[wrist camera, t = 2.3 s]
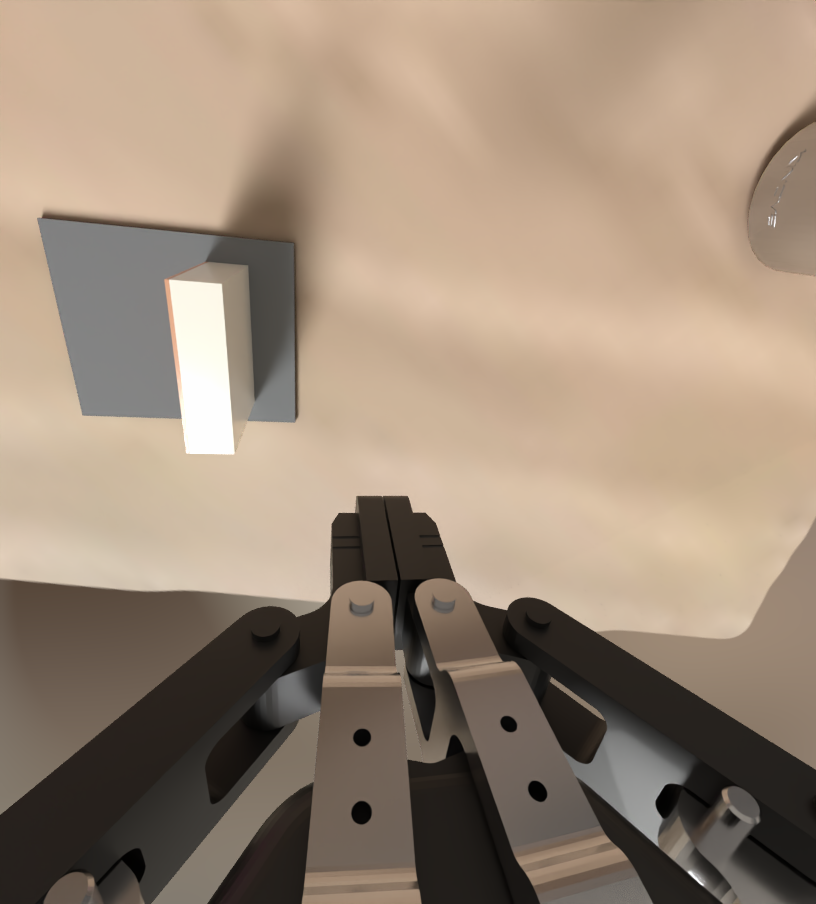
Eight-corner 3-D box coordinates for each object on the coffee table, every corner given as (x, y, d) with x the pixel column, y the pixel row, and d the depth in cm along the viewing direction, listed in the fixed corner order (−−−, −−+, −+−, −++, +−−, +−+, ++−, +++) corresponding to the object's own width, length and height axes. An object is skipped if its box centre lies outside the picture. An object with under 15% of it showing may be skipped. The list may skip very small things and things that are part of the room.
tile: (248, 265, 29) (221, 283, 22) (255, 401, 33) (234, 454, 26) (205, 261, 28) (164, 279, 21) (217, 400, 32) (186, 453, 25)
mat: (294, 243, 29) (293, 243, 29) (295, 420, 34) (295, 422, 34) (41, 217, 26) (37, 218, 26) (85, 413, 32) (82, 415, 31)
